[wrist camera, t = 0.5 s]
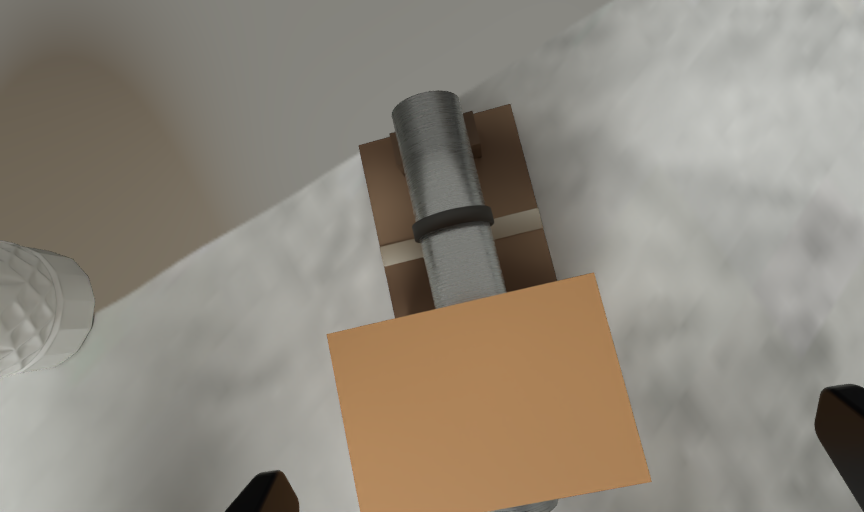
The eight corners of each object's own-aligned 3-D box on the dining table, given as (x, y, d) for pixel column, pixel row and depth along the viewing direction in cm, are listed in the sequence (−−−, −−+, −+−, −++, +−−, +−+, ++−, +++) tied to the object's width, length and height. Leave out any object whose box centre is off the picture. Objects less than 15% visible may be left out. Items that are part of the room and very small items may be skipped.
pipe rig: (603, 467, 22) (642, 525, 16) (437, 498, 23) (415, 564, 17) (509, 112, 25) (513, 47, 19) (363, 151, 26) (321, 102, 20)
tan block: (578, 399, 21) (652, 481, 11) (427, 430, 22) (364, 533, 12) (549, 290, 22) (593, 272, 12) (404, 324, 23) (326, 334, 13)
